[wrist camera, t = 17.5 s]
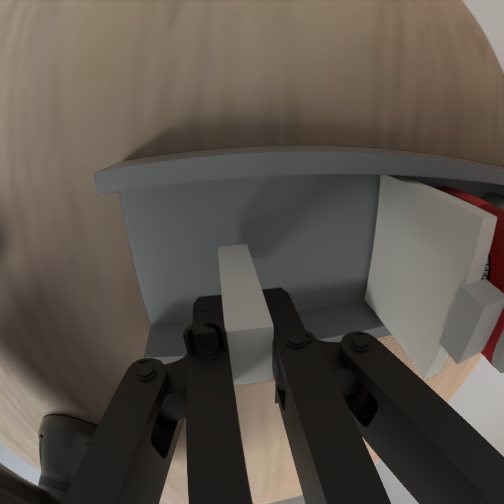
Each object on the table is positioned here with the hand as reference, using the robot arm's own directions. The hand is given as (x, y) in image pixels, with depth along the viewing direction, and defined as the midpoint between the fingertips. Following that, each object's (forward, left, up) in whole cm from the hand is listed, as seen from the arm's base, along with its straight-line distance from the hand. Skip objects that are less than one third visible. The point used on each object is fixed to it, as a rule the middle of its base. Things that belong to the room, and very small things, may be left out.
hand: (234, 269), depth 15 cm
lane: (+11, 0, -3) cm, 11 cm away
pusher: (+10, 0, -1) cm, 10 cm away
